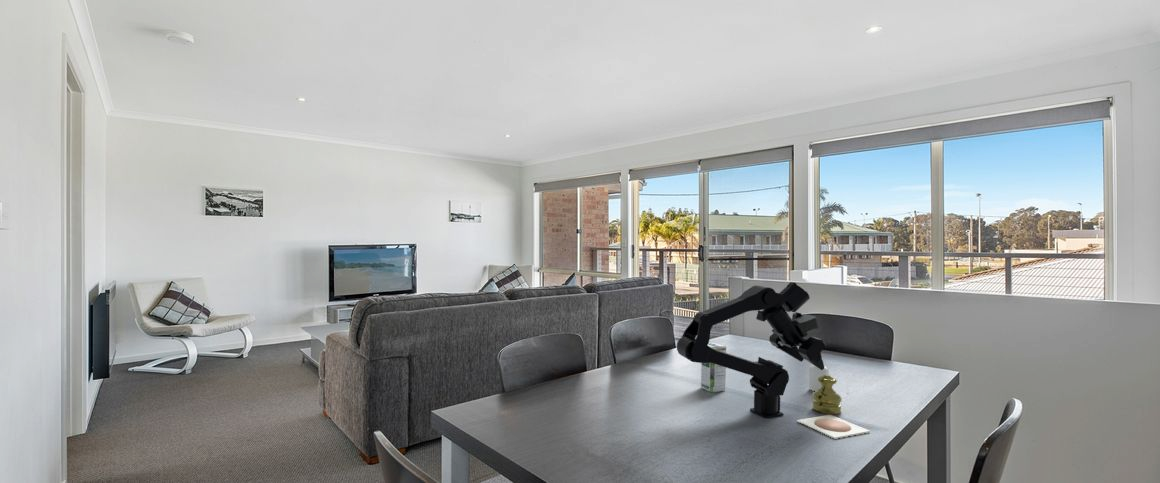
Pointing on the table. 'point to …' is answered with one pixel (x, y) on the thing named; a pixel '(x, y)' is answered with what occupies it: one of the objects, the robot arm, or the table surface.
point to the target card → (833, 426)
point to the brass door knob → (826, 396)
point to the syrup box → (713, 373)
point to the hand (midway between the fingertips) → (812, 364)
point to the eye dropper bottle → (813, 376)
